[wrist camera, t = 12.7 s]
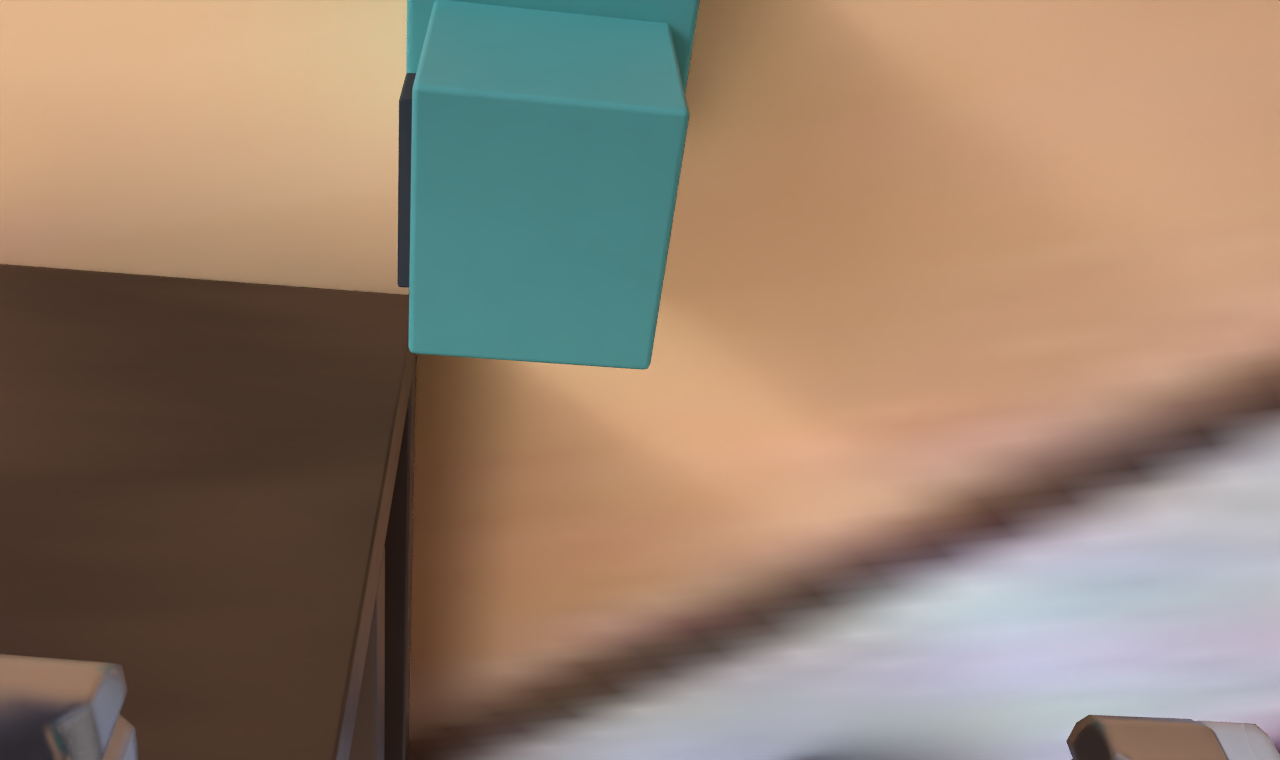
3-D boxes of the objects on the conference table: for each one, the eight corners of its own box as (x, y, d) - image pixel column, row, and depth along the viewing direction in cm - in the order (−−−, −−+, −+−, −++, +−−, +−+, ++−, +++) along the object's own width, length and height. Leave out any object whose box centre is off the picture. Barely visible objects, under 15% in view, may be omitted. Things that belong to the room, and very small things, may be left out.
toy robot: (683, -201, 22) (749, -48, 15) (629, 206, 27) (657, 479, 19) (441, -232, 22) (379, -89, 14) (430, 188, 26) (379, 463, 19)
